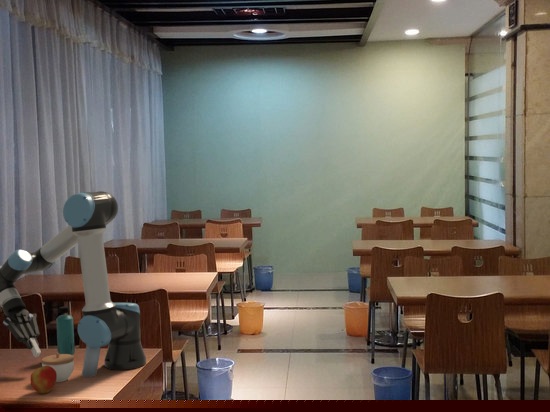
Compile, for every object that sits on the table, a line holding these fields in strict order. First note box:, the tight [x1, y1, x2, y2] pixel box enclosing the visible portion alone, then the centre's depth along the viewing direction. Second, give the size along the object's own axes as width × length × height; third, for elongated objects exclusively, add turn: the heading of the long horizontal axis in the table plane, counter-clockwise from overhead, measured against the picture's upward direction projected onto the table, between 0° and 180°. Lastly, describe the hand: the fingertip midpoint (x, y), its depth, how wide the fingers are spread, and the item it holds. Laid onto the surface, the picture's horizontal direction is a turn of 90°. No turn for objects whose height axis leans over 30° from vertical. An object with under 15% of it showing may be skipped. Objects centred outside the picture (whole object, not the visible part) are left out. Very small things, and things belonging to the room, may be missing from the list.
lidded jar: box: [41, 352, 75, 383], centre depth 252 cm, size 11×11×9 cm
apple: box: [30, 361, 57, 394], centre depth 238 cm, size 8×8×10 cm
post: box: [81, 344, 102, 378], centre depth 257 cm, size 5×5×12 cm
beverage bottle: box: [55, 306, 76, 356], centre depth 281 cm, size 6×7×20 cm
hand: (37, 354), depth 259 cm, fingers closed
